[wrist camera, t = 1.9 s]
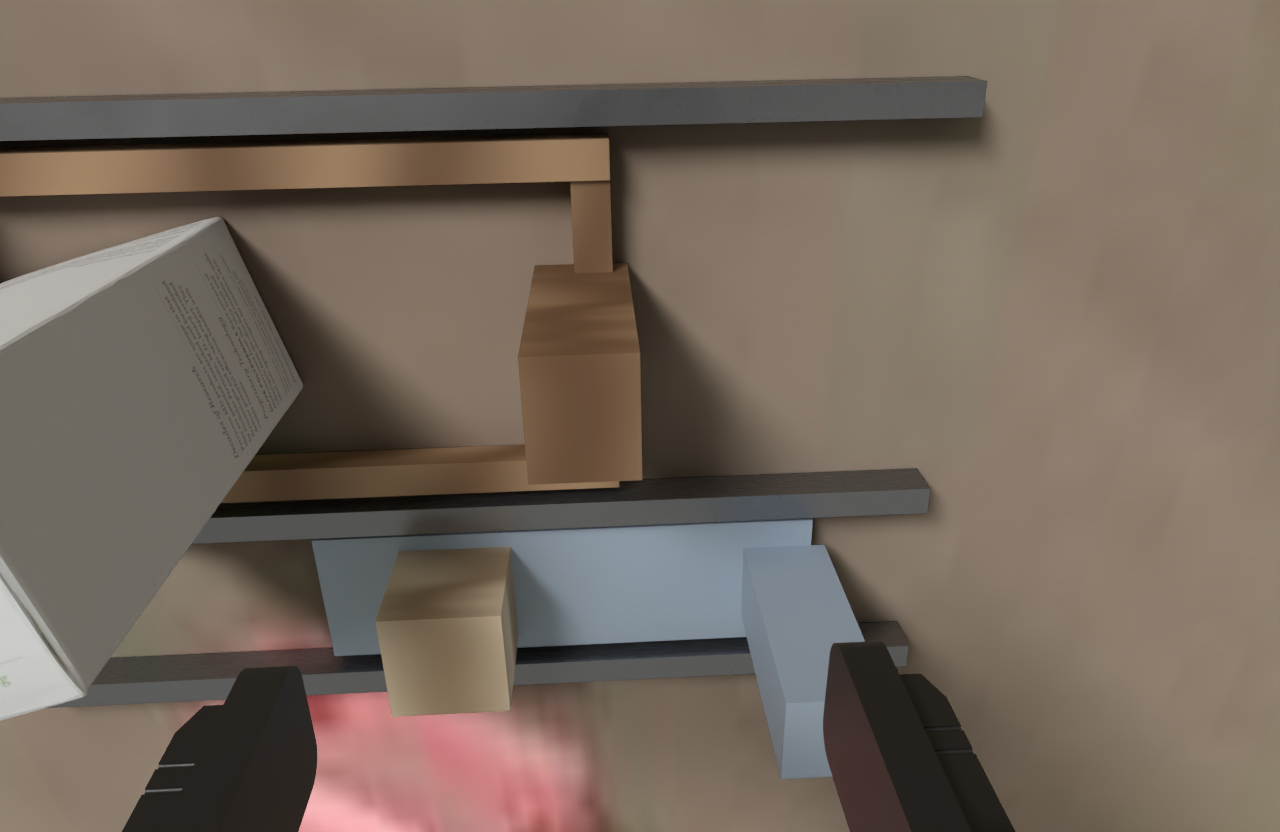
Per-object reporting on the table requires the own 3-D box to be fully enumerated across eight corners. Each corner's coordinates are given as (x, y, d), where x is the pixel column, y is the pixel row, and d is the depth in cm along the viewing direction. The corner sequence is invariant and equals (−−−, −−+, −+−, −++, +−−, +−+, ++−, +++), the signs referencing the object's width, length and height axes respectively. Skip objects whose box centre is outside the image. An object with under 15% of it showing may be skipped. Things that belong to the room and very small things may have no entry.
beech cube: (510, 546, 33) (500, 615, 29) (518, 634, 35) (510, 710, 31) (398, 551, 33) (375, 621, 29) (412, 639, 35) (391, 716, 31)
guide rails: (968, 75, 28) (987, 80, 26) (894, 641, 37) (905, 666, 36) (-188, 102, 26) (-230, 108, 25) (36, 681, 36) (14, 709, 34)
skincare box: (91, 449, 32) (-307, 823, 18) (-19, 271, 29) (-597, 547, 15) (317, 385, 31) (95, 719, 17) (228, 197, 28) (-127, 410, 14)
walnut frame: (624, 132, 28) (636, 184, 21) (631, 470, 33) (644, 606, 26) (-117, 150, 27) (-373, 211, 20) (8, 494, 32) (-159, 643, 25)
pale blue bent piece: (820, 504, 34) (892, 668, 26) (811, 617, 36) (875, 800, 28) (318, 525, 33) (232, 700, 25) (341, 639, 36) (268, 833, 27)
